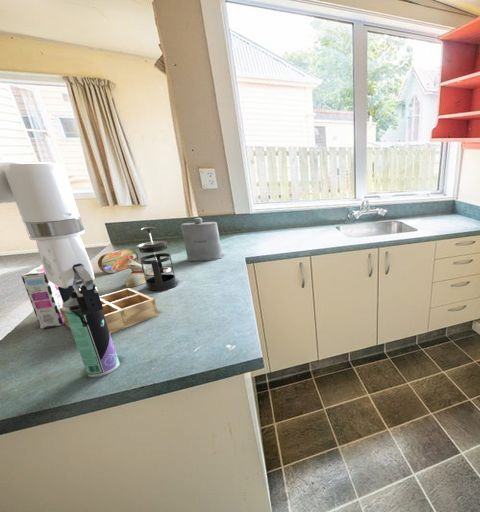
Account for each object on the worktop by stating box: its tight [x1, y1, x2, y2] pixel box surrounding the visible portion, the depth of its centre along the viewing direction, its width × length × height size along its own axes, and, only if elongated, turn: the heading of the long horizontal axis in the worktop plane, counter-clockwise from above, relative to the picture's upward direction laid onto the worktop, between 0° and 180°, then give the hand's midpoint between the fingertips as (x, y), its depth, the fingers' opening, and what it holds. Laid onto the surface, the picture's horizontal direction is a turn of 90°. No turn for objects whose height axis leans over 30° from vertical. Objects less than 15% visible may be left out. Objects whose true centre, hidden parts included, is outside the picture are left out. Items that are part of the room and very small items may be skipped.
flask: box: [180, 217, 223, 262], centre depth 141 cm, size 15×6×20 cm, turn 107°
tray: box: [60, 287, 159, 335], centre depth 88 cm, size 16×16×6 cm
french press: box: [136, 226, 178, 293], centre depth 108 cm, size 12×9×23 cm
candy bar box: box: [20, 263, 65, 330], centre depth 87 cm, size 11×5×16 cm, turn 27°
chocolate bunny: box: [125, 260, 147, 289], centre depth 113 cm, size 6×8×10 cm
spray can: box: [63, 289, 120, 378], centre depth 65 cm, size 6×6×20 cm
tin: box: [97, 248, 139, 274], centre depth 128 cm, size 15×3×8 cm, turn 168°
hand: (83, 306), depth 63 cm, fingers open, 9 cm apart
